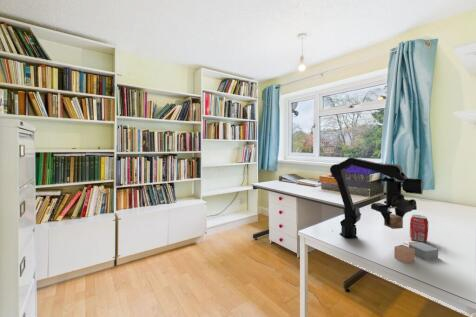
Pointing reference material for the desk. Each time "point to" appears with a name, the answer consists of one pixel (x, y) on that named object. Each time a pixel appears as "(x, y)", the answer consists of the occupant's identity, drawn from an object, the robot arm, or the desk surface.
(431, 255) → the slate base
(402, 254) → the terracotta cube
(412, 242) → the swatch
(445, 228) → the desk surface
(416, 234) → the soda can
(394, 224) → the walnut cube
